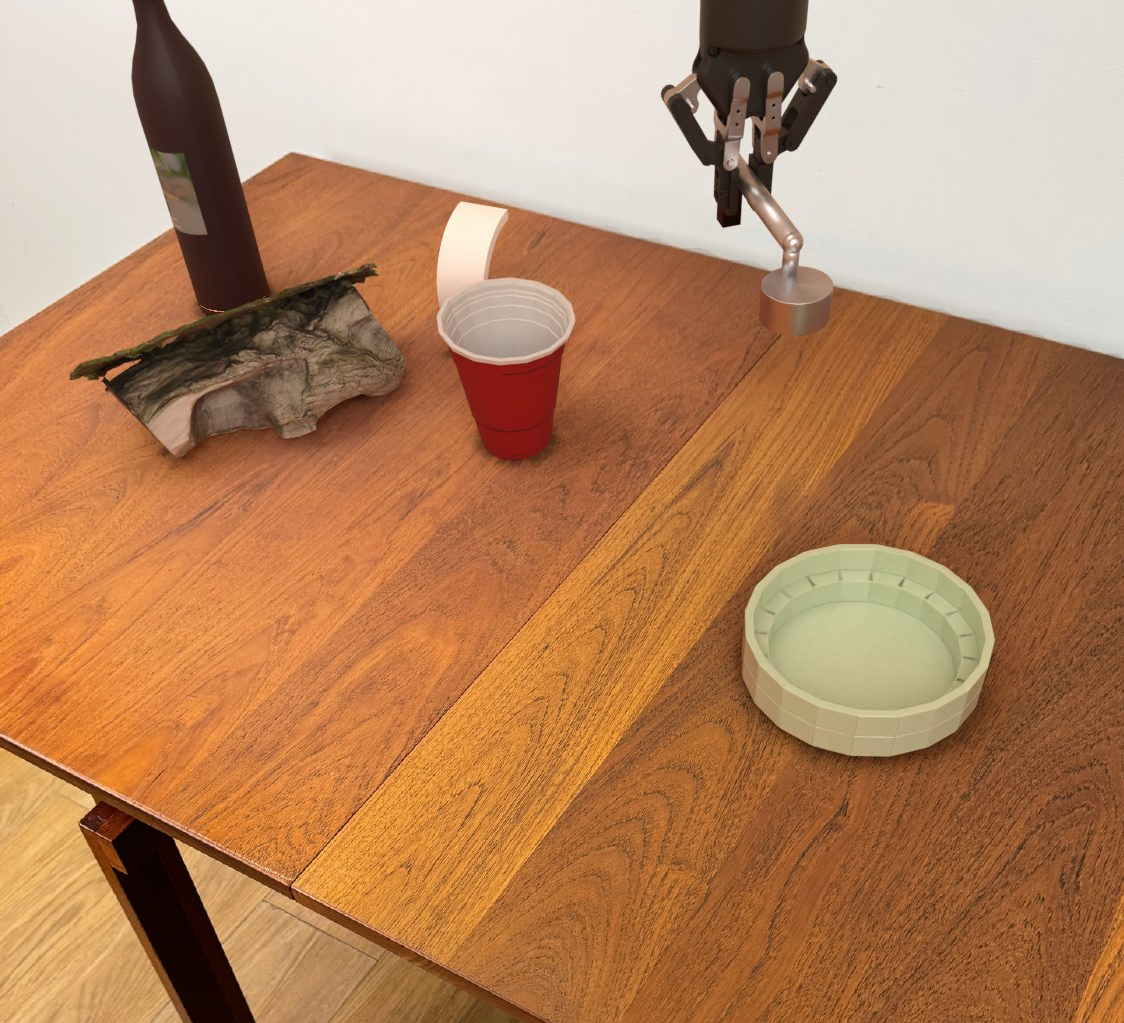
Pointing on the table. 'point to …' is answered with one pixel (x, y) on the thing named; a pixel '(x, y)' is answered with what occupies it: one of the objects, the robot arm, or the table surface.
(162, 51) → the wine bottle
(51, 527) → the table surface
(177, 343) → the mossy driftwood chunk
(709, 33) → the robot arm
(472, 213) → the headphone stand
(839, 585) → the bowl
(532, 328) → the plastic cup
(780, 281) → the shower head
